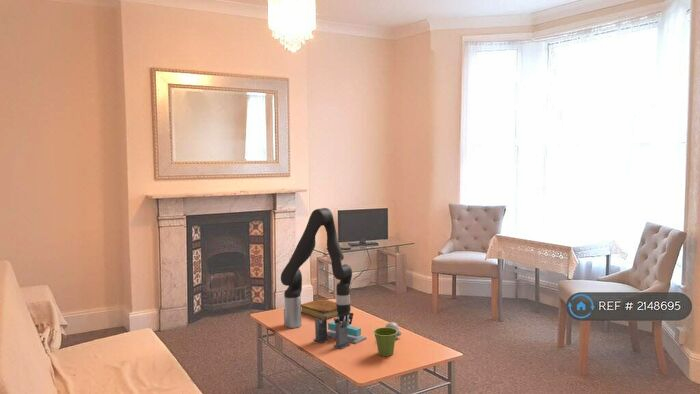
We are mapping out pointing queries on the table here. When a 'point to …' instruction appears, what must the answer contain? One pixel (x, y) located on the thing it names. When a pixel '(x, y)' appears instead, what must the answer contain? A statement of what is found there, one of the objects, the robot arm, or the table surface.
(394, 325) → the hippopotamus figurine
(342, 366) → the table surface
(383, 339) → the plant pot
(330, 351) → the table surface
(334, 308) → the diary
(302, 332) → the table surface
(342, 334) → the bracket stand
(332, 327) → the rail bar
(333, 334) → the rubber mat
